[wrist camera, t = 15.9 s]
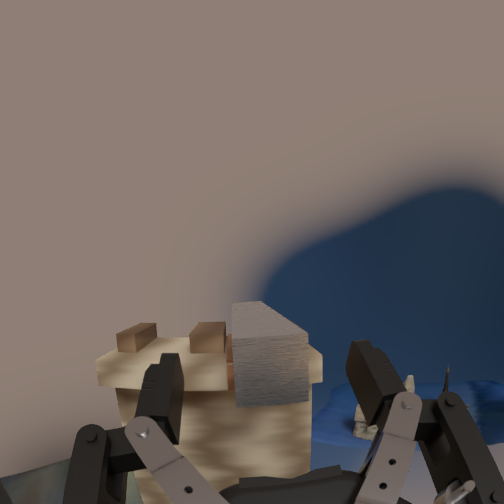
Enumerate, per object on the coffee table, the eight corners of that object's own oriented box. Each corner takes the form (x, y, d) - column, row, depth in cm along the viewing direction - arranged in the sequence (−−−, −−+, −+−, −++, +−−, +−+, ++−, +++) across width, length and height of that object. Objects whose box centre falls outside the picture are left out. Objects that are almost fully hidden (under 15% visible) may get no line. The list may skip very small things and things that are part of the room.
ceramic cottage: (420, 411, 60) (422, 359, 61) (412, 445, 47) (416, 385, 48) (366, 412, 69) (364, 363, 70) (346, 443, 56) (344, 387, 57)
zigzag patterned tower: (169, 589, 15) (91, 340, 18) (178, 541, 25) (134, 322, 28) (306, 586, 16) (323, 334, 19) (292, 538, 26) (293, 317, 30)
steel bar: (236, 407, 11) (231, 338, 11) (233, 330, 31) (232, 302, 31) (308, 401, 11) (307, 333, 12) (262, 329, 31) (260, 301, 31)
